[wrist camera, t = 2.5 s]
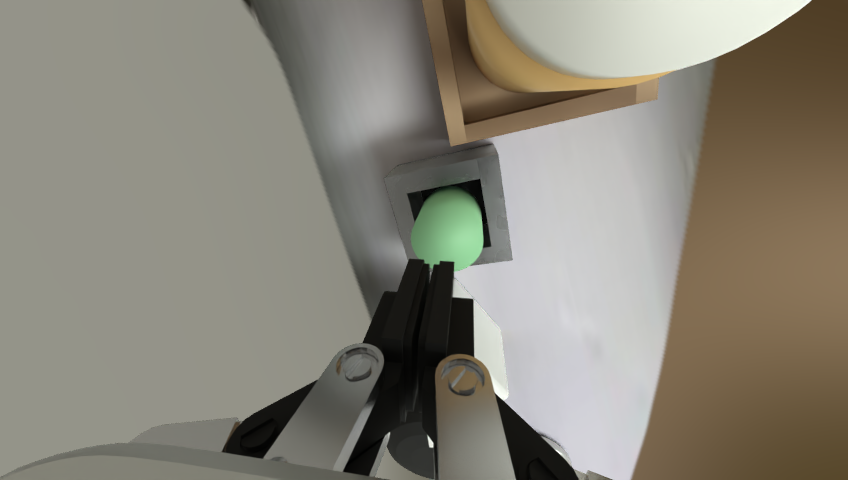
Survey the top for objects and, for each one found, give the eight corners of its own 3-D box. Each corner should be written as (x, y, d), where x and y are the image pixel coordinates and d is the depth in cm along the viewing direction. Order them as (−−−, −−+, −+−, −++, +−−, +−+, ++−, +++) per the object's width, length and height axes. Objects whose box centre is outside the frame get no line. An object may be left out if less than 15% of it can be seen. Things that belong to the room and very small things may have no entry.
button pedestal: (506, 234, 23) (512, 260, 20) (420, 248, 25) (411, 273, 21) (493, 143, 20) (498, 154, 17) (398, 165, 22) (383, 178, 18)
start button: (485, 236, 20) (488, 267, 17) (429, 245, 21) (420, 276, 18) (475, 180, 19) (476, 200, 15) (415, 192, 20) (402, 213, 16)
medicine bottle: (441, 358, 30) (425, 503, 19) (394, 311, 28) (347, 443, 18) (502, 328, 27) (521, 478, 17) (454, 274, 26) (441, 403, 15)
